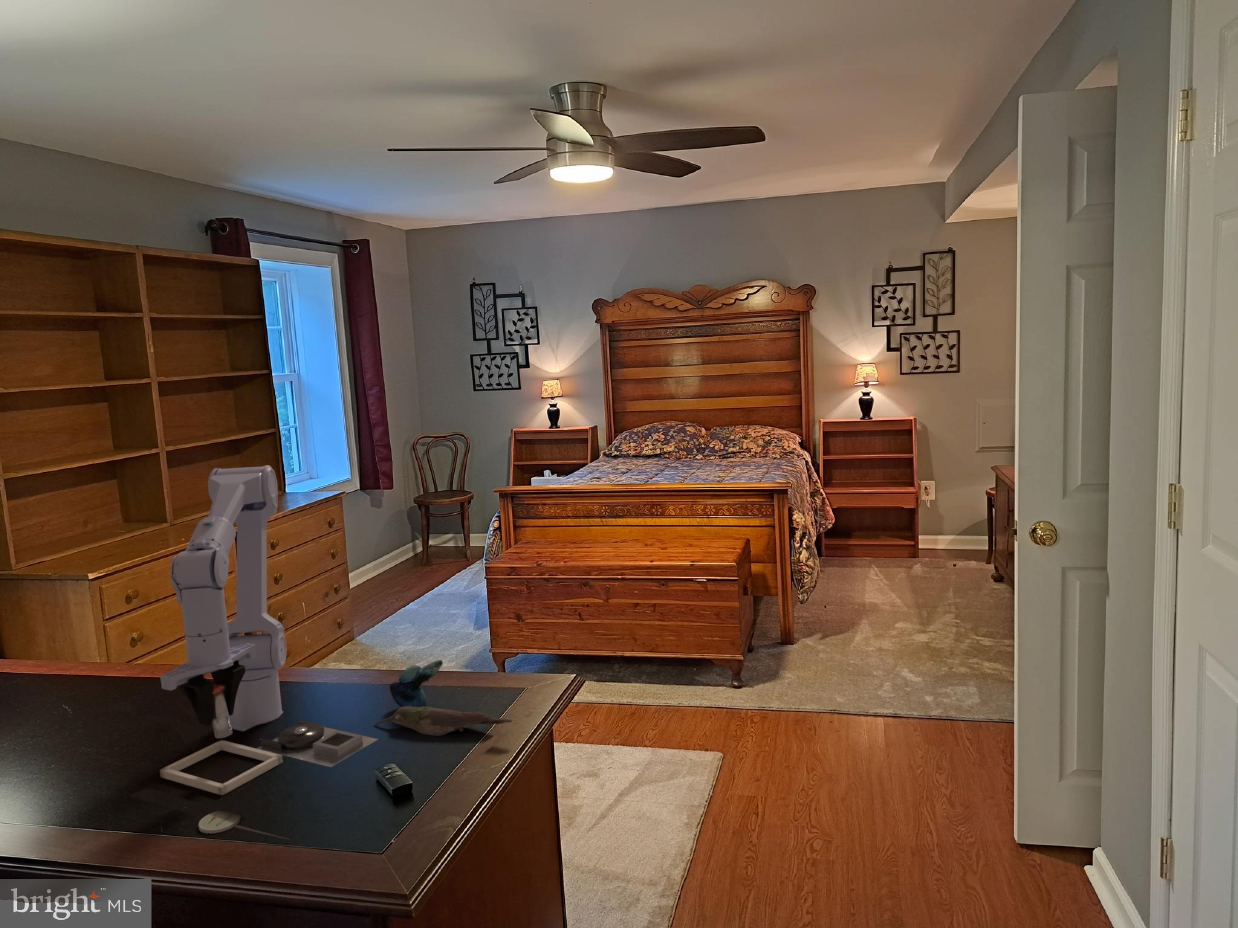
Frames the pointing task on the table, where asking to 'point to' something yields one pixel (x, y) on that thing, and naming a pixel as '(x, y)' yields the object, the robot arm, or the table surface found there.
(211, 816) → the sign
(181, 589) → the robot arm
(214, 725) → the pin
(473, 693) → the table surface
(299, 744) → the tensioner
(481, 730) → the table surface
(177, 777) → the tray
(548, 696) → the table surface
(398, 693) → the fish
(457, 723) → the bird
